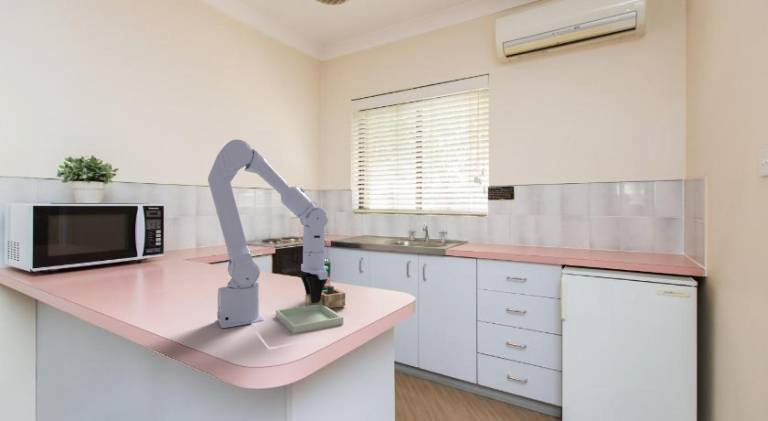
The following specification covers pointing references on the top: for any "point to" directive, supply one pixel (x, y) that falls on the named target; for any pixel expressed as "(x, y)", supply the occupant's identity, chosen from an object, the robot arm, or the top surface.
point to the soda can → (328, 264)
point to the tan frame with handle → (328, 299)
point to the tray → (308, 318)
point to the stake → (331, 291)
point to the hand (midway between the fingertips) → (313, 301)
